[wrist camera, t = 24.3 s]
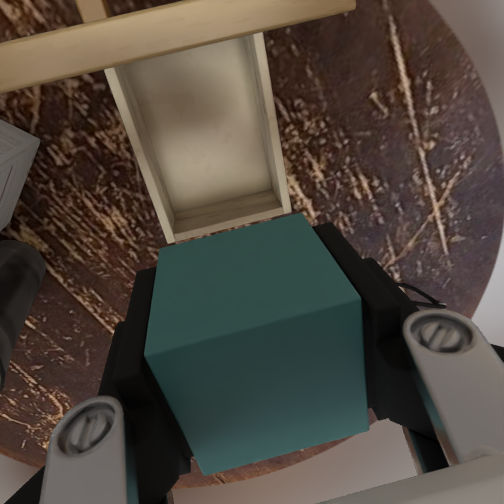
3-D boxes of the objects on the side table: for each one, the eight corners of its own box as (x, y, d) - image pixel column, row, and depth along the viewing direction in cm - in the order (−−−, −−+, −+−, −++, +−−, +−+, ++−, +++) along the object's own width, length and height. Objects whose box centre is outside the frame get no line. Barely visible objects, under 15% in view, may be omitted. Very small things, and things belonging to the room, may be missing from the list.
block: (158, 247, 10) (142, 355, 6) (301, 211, 10) (362, 297, 6) (199, 352, 12) (203, 477, 8) (317, 321, 12) (370, 431, 8)
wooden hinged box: (278, 191, 30) (291, 212, 26) (170, 218, 30) (167, 244, 26) (248, 21, 24) (260, 15, 20) (112, 53, 24) (97, 53, 20)
